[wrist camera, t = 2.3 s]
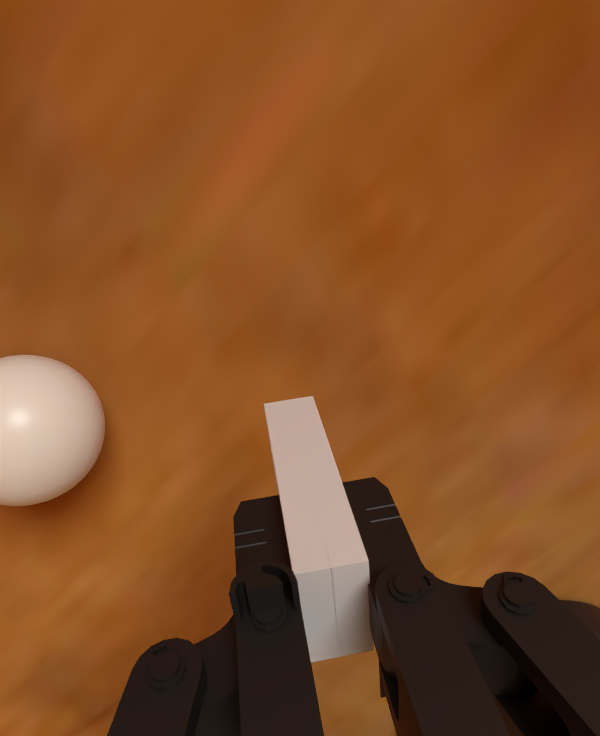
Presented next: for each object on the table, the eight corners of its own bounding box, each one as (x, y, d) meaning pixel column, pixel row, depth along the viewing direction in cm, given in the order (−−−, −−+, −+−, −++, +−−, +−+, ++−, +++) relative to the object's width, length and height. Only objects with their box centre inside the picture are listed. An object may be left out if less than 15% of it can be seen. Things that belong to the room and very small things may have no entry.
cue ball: (125, 443, 24) (102, 530, 19) (-6, 455, 23) (-66, 548, 18) (104, 327, 21) (70, 392, 16) (-44, 337, 21) (-124, 407, 16)
